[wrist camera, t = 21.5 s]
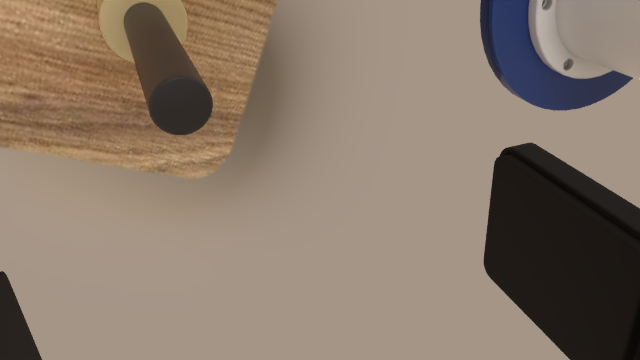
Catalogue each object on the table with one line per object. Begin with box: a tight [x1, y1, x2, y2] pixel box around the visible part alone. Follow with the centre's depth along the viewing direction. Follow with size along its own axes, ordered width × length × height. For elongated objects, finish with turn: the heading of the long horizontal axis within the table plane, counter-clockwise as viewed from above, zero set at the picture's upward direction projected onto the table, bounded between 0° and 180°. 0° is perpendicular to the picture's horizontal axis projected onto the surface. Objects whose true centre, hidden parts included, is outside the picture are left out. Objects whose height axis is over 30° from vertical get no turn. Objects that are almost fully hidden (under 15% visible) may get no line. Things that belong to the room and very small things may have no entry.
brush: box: [97, 0, 213, 135], centre depth 25 cm, size 4×4×16 cm
